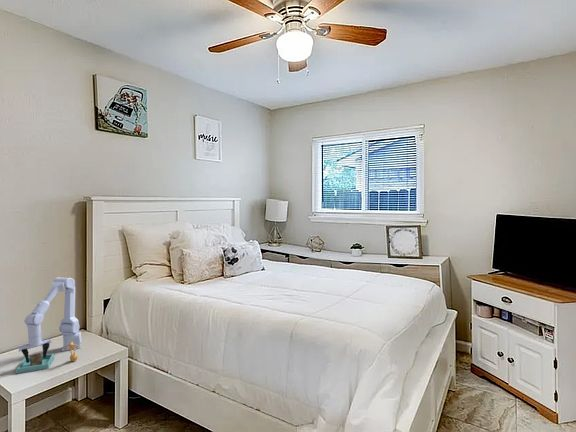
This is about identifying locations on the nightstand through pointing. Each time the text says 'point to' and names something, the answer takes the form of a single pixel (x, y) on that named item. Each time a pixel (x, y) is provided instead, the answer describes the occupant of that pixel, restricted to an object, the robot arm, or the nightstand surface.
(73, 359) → the figurine
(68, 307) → the robot arm
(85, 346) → the nightstand surface
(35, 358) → the walnut block
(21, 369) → the teal tray
